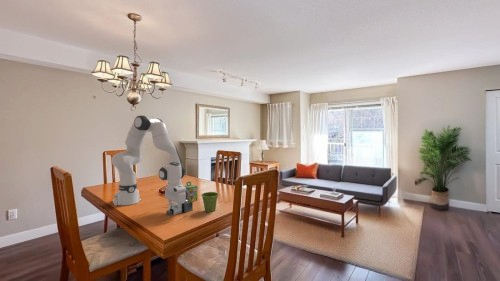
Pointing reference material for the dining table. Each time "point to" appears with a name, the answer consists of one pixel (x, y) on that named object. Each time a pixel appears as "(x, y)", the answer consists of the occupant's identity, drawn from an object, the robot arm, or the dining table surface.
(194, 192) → the green patterned lantern
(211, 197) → the plant pot
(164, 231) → the dining table surface
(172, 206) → the lock block
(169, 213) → the coupler
